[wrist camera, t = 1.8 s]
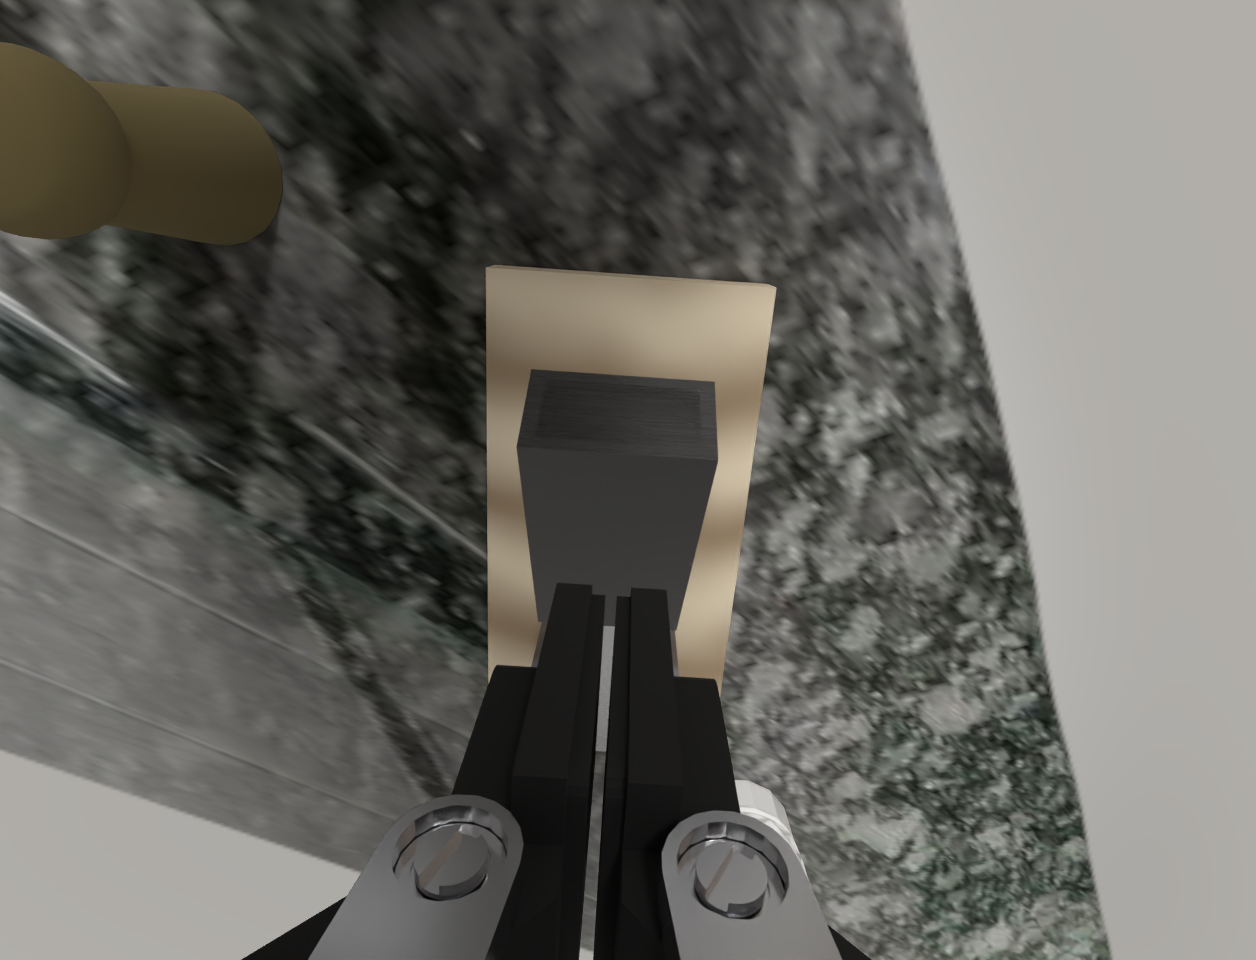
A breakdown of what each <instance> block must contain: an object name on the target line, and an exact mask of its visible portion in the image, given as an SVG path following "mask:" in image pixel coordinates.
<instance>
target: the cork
mask: <svg viewBox="0 0 1256 960" xmlns="http://www.w3.org/2000/svg"><path fill="white" fill-rule="evenodd" d="M282 191H283V189H282V172H281V165H280V162H279V159H278V156H277V153H276V150H275V147H274V145H273V142H272V140H271V139H270V137H269V136H268V134H267V133H266V131H265V130H264V129H263V127H262V126H261V124H260V123H259V121H258V120H257V119H256V118H255V117H254V116H253V115H252V114H250V113H249V112H248V111H247V110H246V109H245V108H244V107H242V106H241V105H240V104H239V103H238V102H236V101H234V100H232V99H229V98H227V97H225V96H223V95H221V94H219V93H217V92H214V91H206V90H198V89H189V88H176V87H163V86H150V85H137V84H125V83H112V82H99V81H86V80H84V79H83V78H82V77H80V76H79V75H78V74H77V73H76V72H74V71H73V70H71V69H69V68H68V67H66V66H65V65H63V64H62V63H60V62H58V61H56V60H54V59H51V58H49V57H47V56H45V55H43V54H41V53H38V52H36V51H34V50H32V49H29V48H26V47H23V46H19V45H16V44H11V43H3V42H0V230H2V231H4V232H7V233H11V234H15V235H18V236H23V237H32V238H40V239H65V238H69V237H73V236H78V235H82V234H86V233H89V232H91V231H94V230H96V229H99V228H100V227H101V226H103V225H104V224H105V225H111V226H116V227H121V228H127V229H132V230H137V231H143V232H148V233H153V234H159V235H164V236H169V237H175V238H180V239H185V240H191V241H196V242H202V243H207V244H216V245H224V246H231V245H235V244H239V243H244V242H248V241H250V240H251V239H253V238H254V237H256V236H257V235H259V234H260V233H262V232H263V231H265V230H266V228H267V227H268V225H269V224H270V222H271V221H272V219H273V218H274V217H275V215H276V214H277V211H278V207H279V203H280V199H281V195H282Z"/></svg>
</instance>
